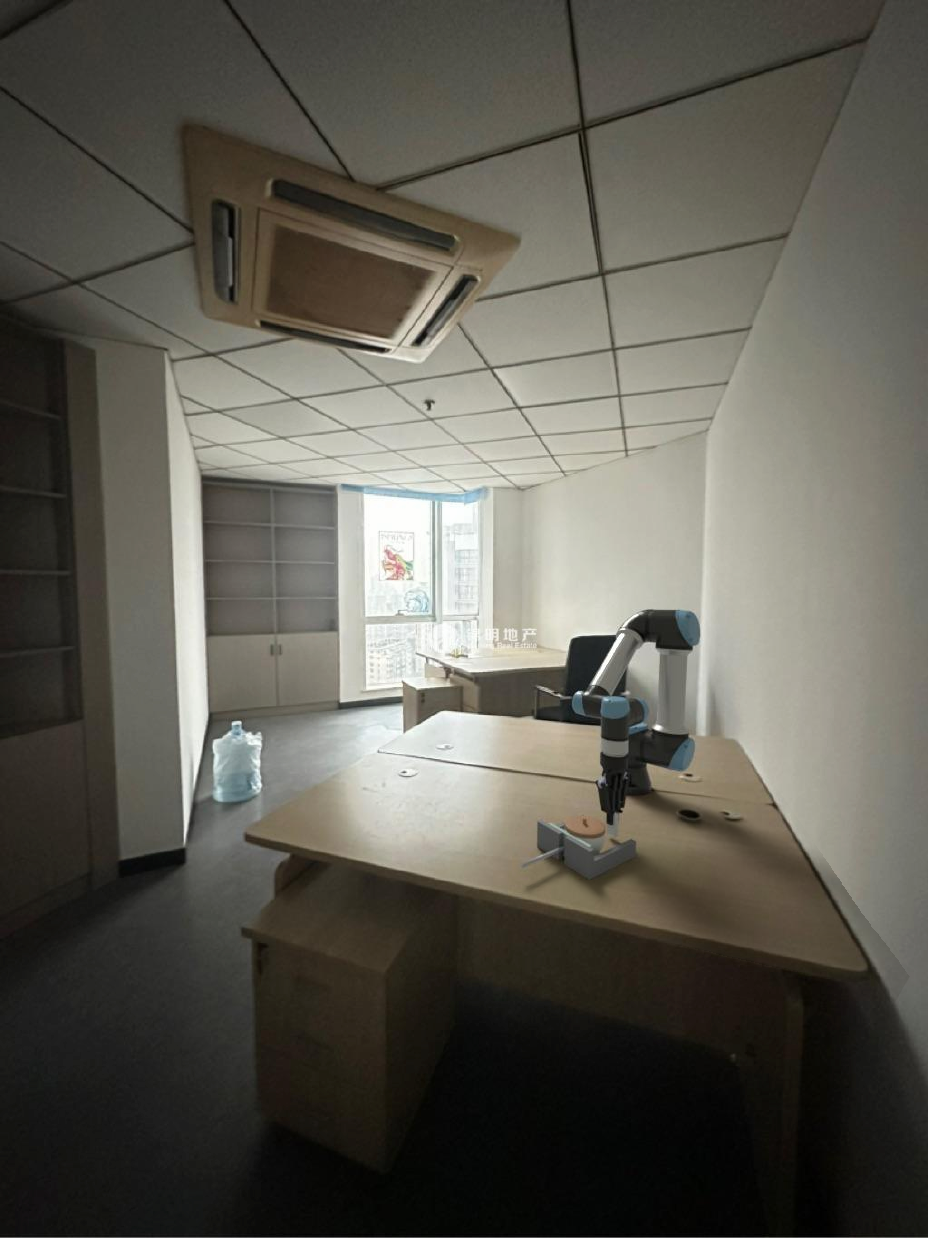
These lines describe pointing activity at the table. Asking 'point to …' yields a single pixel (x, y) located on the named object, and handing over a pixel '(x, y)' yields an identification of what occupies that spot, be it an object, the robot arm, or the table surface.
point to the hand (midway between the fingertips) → (612, 834)
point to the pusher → (553, 850)
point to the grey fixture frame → (582, 851)
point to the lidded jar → (586, 830)
